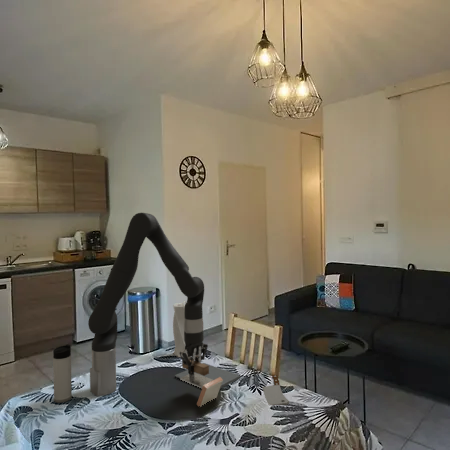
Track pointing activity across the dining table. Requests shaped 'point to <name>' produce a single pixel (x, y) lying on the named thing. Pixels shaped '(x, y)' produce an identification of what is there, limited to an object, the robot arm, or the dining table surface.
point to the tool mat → (216, 375)
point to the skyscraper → (179, 328)
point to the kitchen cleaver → (275, 393)
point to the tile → (209, 391)
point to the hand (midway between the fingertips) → (194, 373)
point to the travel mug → (62, 374)
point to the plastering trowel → (197, 375)
